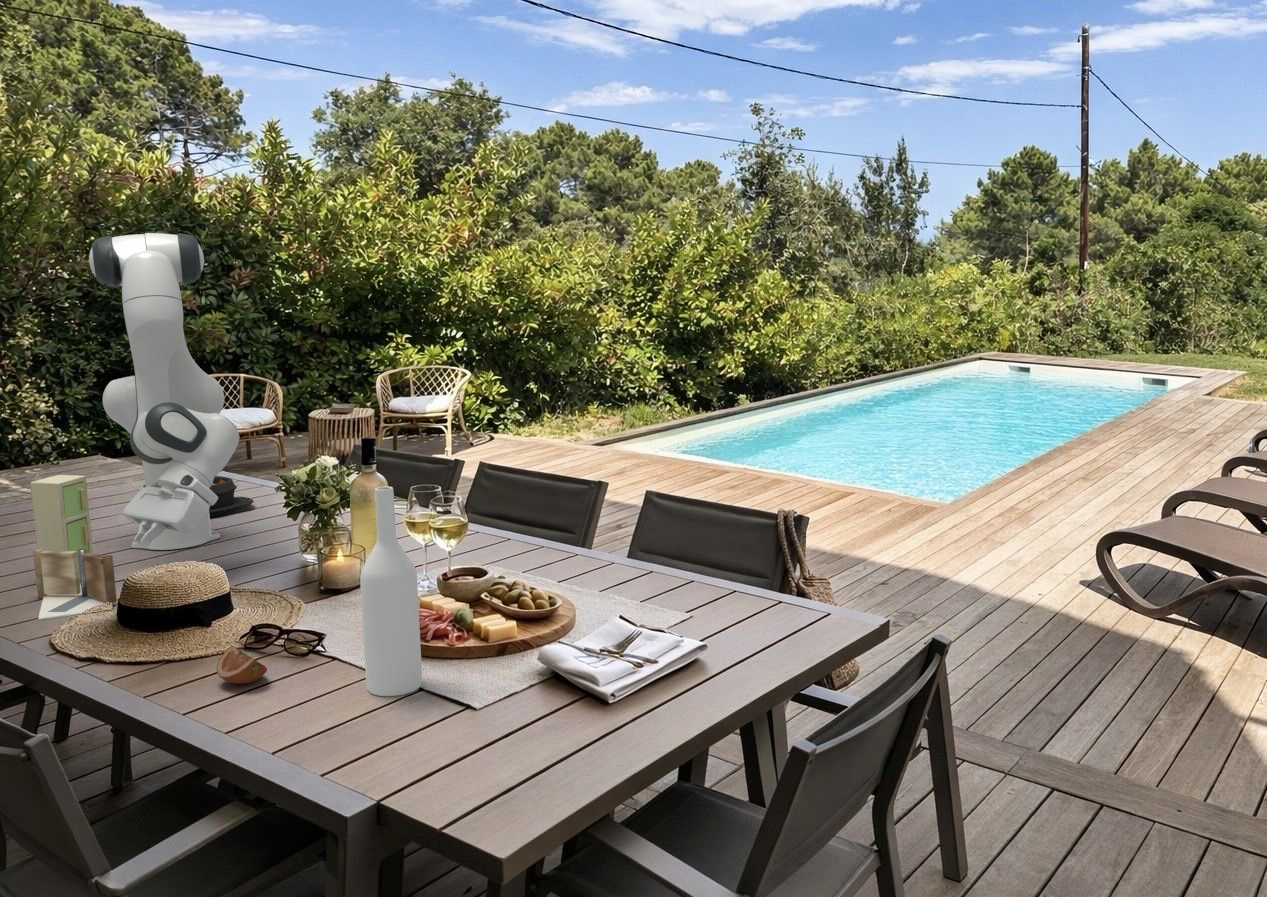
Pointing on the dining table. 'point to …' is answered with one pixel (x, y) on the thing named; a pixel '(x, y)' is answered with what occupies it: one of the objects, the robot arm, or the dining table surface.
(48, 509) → the toy refrigerator
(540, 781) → the dining table surface
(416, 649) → the bottle
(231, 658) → the fruit slice
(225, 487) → the casserole
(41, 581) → the fence fixed section
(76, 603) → the board
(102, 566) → the fence panel
